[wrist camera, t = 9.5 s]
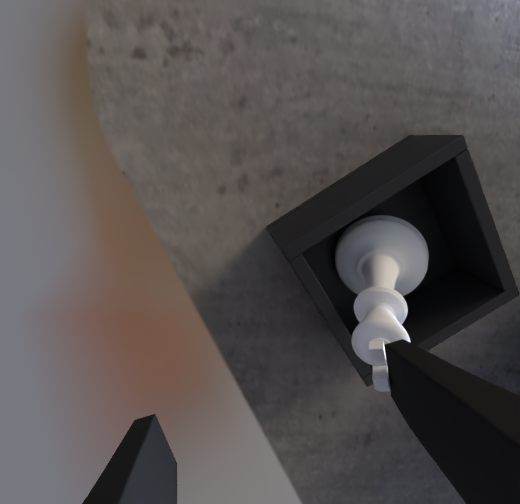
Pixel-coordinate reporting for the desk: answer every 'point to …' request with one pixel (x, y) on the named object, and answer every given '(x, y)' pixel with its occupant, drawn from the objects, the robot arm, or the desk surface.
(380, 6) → the desk surface
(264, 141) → the desk surface
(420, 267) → the chess piece
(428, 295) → the black bin
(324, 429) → the desk surface
